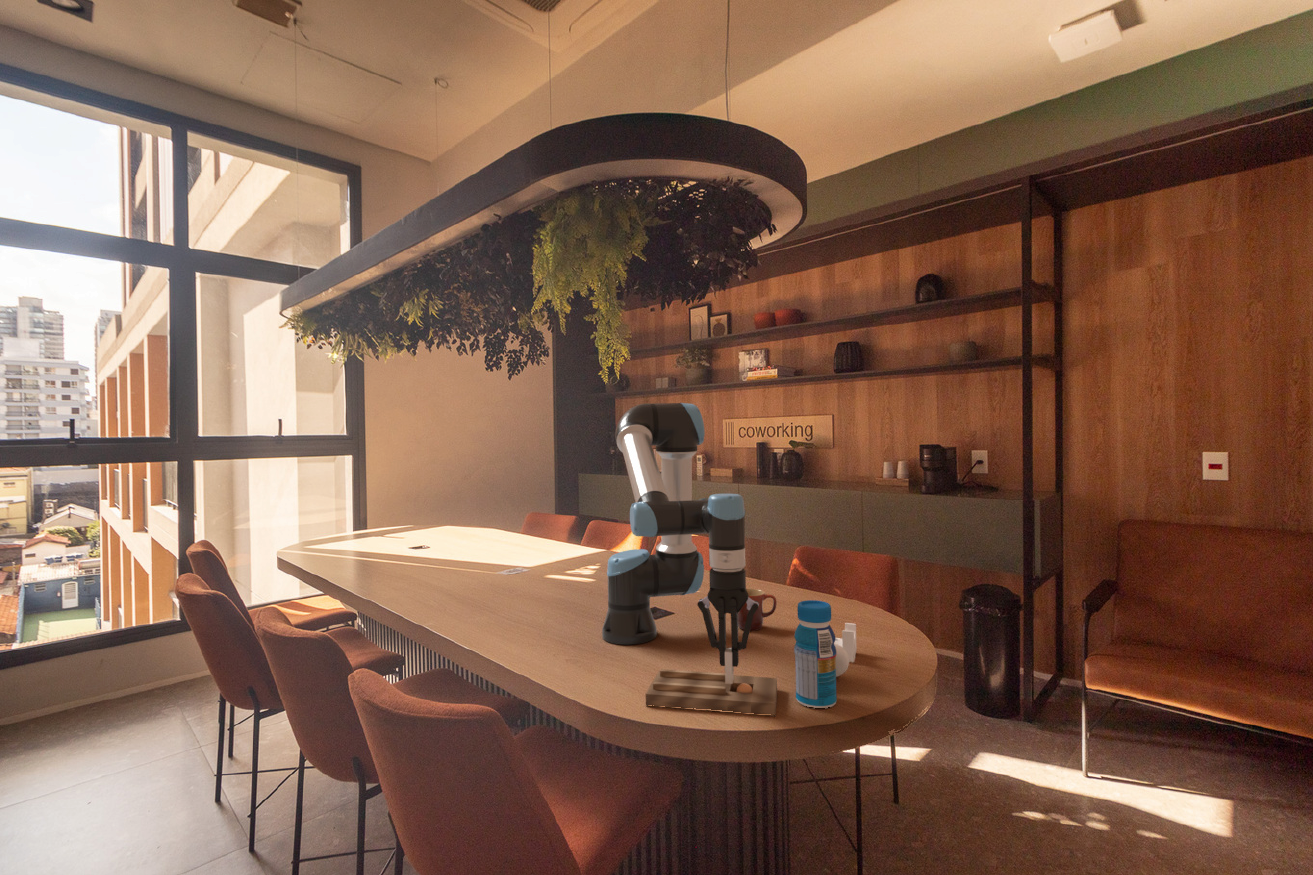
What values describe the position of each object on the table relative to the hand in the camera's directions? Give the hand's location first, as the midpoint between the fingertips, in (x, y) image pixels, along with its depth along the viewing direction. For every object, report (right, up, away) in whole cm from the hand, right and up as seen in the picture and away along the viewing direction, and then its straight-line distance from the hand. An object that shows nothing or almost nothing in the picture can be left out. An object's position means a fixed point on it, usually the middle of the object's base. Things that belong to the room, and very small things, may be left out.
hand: (729, 681), depth 126 cm
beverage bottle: (+18, -4, -2) cm, 18 cm away
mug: (+13, -4, +47) cm, 49 cm away
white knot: (+22, -4, +9) cm, 24 cm away
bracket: (+28, -4, +25) cm, 38 cm away
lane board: (-3, -4, +1) cm, 5 cm away
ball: (+3, -2, -1) cm, 4 cm away
